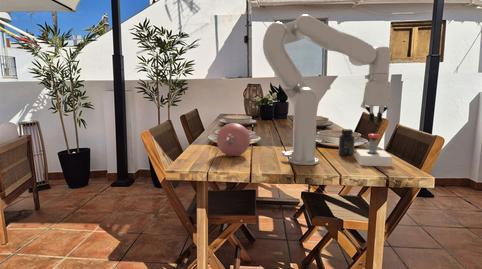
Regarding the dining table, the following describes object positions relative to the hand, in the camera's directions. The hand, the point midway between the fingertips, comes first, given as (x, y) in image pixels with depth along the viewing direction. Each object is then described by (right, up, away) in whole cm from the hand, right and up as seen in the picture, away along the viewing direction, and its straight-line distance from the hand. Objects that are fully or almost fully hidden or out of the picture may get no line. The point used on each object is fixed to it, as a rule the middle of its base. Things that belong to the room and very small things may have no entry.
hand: (375, 122), depth 132 cm
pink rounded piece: (-60, -16, +12) cm, 63 cm away
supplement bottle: (-7, -15, +16) cm, 23 cm away
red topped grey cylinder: (0, -17, +3) cm, 17 cm away
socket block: (0, -17, +3) cm, 17 cm away
